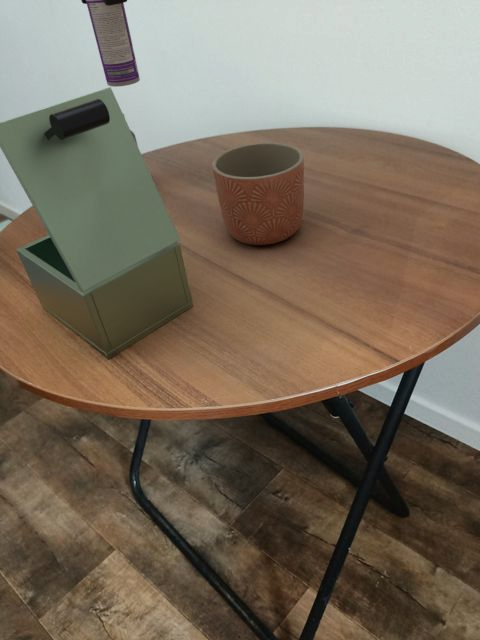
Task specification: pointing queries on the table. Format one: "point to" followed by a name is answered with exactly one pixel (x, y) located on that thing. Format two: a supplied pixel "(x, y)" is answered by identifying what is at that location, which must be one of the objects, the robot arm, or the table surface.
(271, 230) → the planter
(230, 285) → the table surface
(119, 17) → the container
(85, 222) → the green box lid
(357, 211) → the table surface
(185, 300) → the box base
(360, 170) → the table surface
